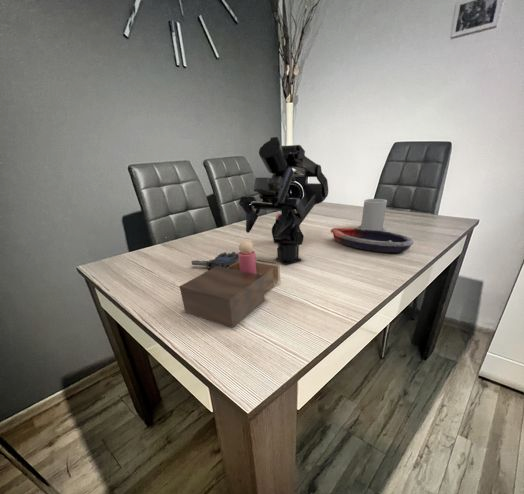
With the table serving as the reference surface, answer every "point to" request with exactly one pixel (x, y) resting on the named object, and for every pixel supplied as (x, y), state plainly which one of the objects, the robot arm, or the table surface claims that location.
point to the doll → (247, 257)
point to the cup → (373, 214)
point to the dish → (372, 239)
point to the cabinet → (223, 295)
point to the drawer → (264, 272)
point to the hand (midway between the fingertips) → (261, 233)
